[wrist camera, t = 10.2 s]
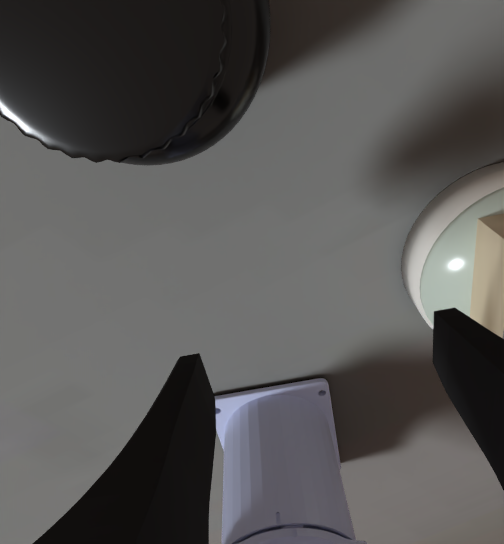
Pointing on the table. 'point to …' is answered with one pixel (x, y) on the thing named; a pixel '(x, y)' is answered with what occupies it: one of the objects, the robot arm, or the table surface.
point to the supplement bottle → (130, 74)
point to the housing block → (489, 275)
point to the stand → (450, 242)
